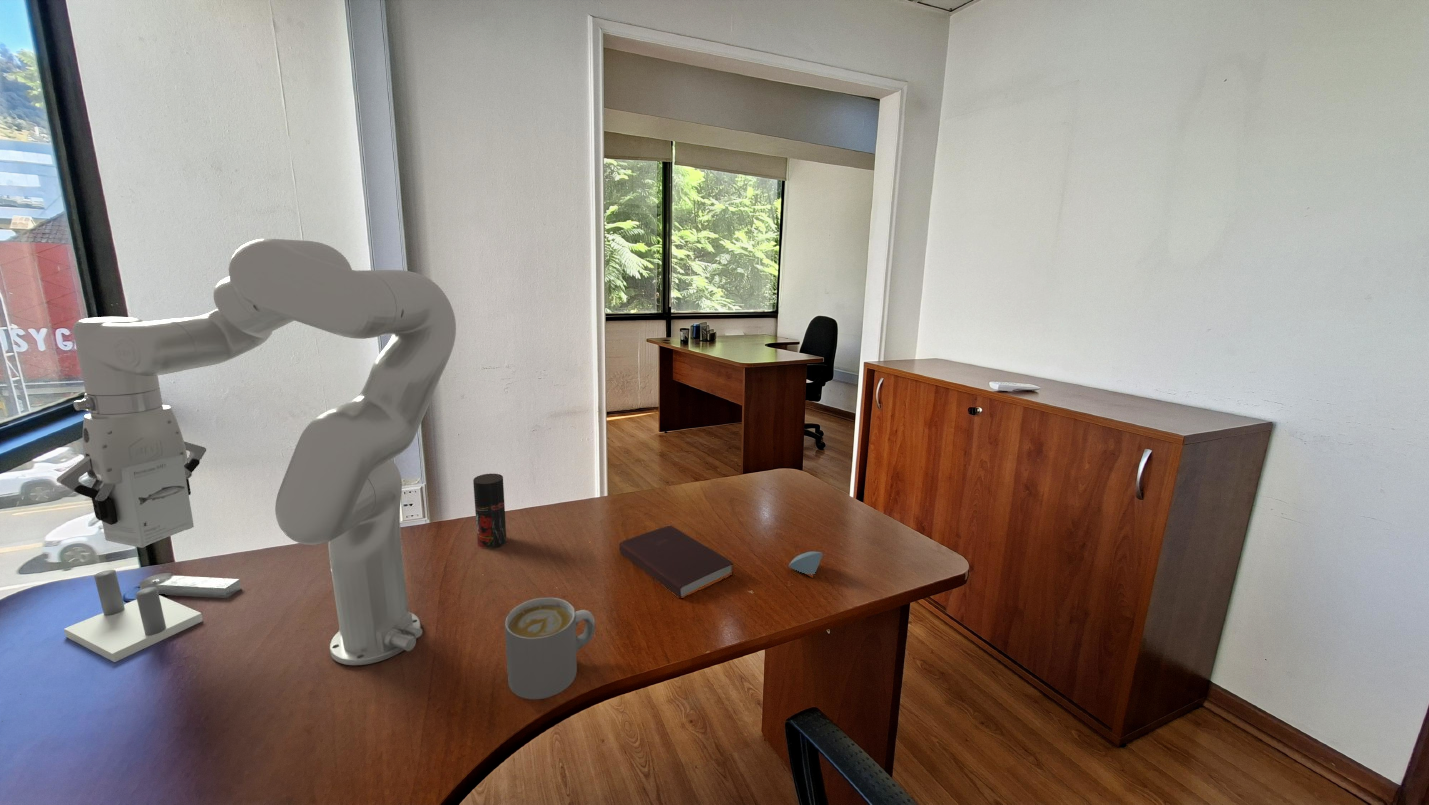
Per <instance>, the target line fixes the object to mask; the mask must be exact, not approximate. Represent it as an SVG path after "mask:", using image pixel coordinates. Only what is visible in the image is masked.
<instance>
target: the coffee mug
mask: <svg viewBox="0 0 1429 805" xmlns="http://www.w3.org/2000/svg"><path fill="white" fill-rule="evenodd" d="M581 621H584V624H585V627H584V631H583V632H582V633H581V634H579V635H577V631H576V630H577V626H578V624H579V623H580V622H581ZM595 629H596V620H595V617H594V616H593V613H592V612H590V611H589V610H587V609H580V610H576V609H575V607H574V606H573V605H572V604H571V603H570V602H569V601H567V600H564V599H563V598H562V599H561V598H559V597H550V596H549V597H538V598H533V599H530V600H527V601H524V602H522V603H520V604H519V605H516V606H515V607H514V608H513V609H512V610H511V611H509V612H508V614H507V616H506V617H505V621H504V635H505V651H506V652H505V653H506V667H507V668H506V669H507V681H508V682H507V683H508V687H509V689H510V691H511V692H512V693H513V694H514V695H516V696H517V697H519V698H522V699H525V700H526V699H527V700H541V699H542V700H543V699H547V698H551V697H553V696H556V695H558V694H560V693H562V692H564V690H566V689H567V688H569V686H570V685H572V683H573V682H574V681H575V678H576V677H577V673H578V670H577V669H578V666H577V664H578V663H577V662H578V661H577V653H578V651H579V650H580V649H582V648H583V647H584V646H585V645H587V644H588V643H589V642H590V641H591V640H592V639H593V637H594V635H595V631H596V630H595Z"/></svg>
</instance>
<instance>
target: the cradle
mask: <svg viewBox="0 0 1429 805" xmlns="http://www.w3.org/2000/svg"><path fill="white" fill-rule="evenodd" d="M93 578H94V580H95V581H94V582H95V585H96V589H97V593H98V598H99V602H100V605H101V609H102V613H99V614H97V615H94V616H92V617H89V618H87V619H85V620H82V621H79V622H77V623H74V624H72V625H70V626H67V627H65V628H63V631H64V633H65V636H66V638H67V639H69V640H71V641H73V642H75V643H77V644H79V645H81V646H82V647H84V648H87V649H88V650H90V651H92V652H94V653H96V654H98V655H99V656H102V657H103V658H105V659H107V660H109V661H111V662H113V663H116V662H118V661H120V660H123V659H125V658H127V657H130V656H131V655H133V654H135V653H138V652H139V651H141V650H143V649H146V648H148V647H150V646H153V645H155V644H157V643H159V642H161V641H163V640H166V639H167V638H169V637H172V636H174V635H176V634H178V633H180V632H182V631H184V630H187V629H189V628H191V627H193V626H195V625H197V624H199V623H202V622H204V620H203V615H202V612H200V611H197V610H194V609H193V608H190V607H189V606H186V605H184V604H181V603H179V602H176V601H175V600H172V599H169V598H167V597H165V596H163V595H159V593H158V589H157V587H149V588H145V589H142V590H141V589H139V590H138V591H137V592H136V593H135V597H136V599H134V600H132V601H129V602H126V603H125V602H124V600H123V596H122V591H121V587H120V584H119V579H118V575H117V571H116V569H107V570H103V571H99V572H97V573H96V574H94V575H93ZM124 603H125V604H124Z"/></svg>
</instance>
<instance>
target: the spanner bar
mask: <svg viewBox="0 0 1429 805" xmlns="http://www.w3.org/2000/svg"><path fill="white" fill-rule="evenodd" d="M149 587H157V589H158V593H161V594H165V595H164V596H179V597H196V598H197V597H198V598H216V599H217V598H220V599H228V598H229V597H232V595H234V594H235V593H237V592H238V591H240V590H241V589H242V585H241V580H240V578H227V577H226V578H225V577H224V578H222V577H207V576H204V577H203V576H187V575H174V574H173V573H171V572H163V573H158V574H157V573H156V574H153V575H151V576H148V577H146V578H144V579H143V580H141V581H140V582H139V588H140V589H139V590H142V589H145V588H149Z"/></svg>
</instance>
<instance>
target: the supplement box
mask: <svg viewBox="0 0 1429 805" xmlns="http://www.w3.org/2000/svg"><path fill="white" fill-rule="evenodd" d="M121 475H122V482H121V483H118V484H115V485H114V487H113V488H112V490H111V492H110V493H109V495H108V496H109V498H112V499H113V500H114V505H115V510H116V515H117V519H118V522H117V523H116V524H113V525H110V524H108V523H105V522H103V521H101V524H102V528H103V534H104V539H105V541H107V542H113V543H117V544H119V545H120V544H122V545H125V546H131V547H136V548H145V547H146V546H149V545H150V544H153V543H156V542H158V541H160V540H164V539H166V538H169V537H171V536H173V535H176V534H178V533H179V534H180V533H182V532H184V531H187V530H190V529H193V528H194V527H195V526H194V517H193V512H192V508H191V507H192V506H191V501H190V495H189V494H188V488H187V482H186V475H185V470H184V463H183V457H182V455H178V456H174V457H170V458H165V459H160V460H155V461H150V462H146V463H141V464H137V465H132V466H128V467H124V468H121ZM92 479H93V480H92V482H93V481H94V478H92Z"/></svg>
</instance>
